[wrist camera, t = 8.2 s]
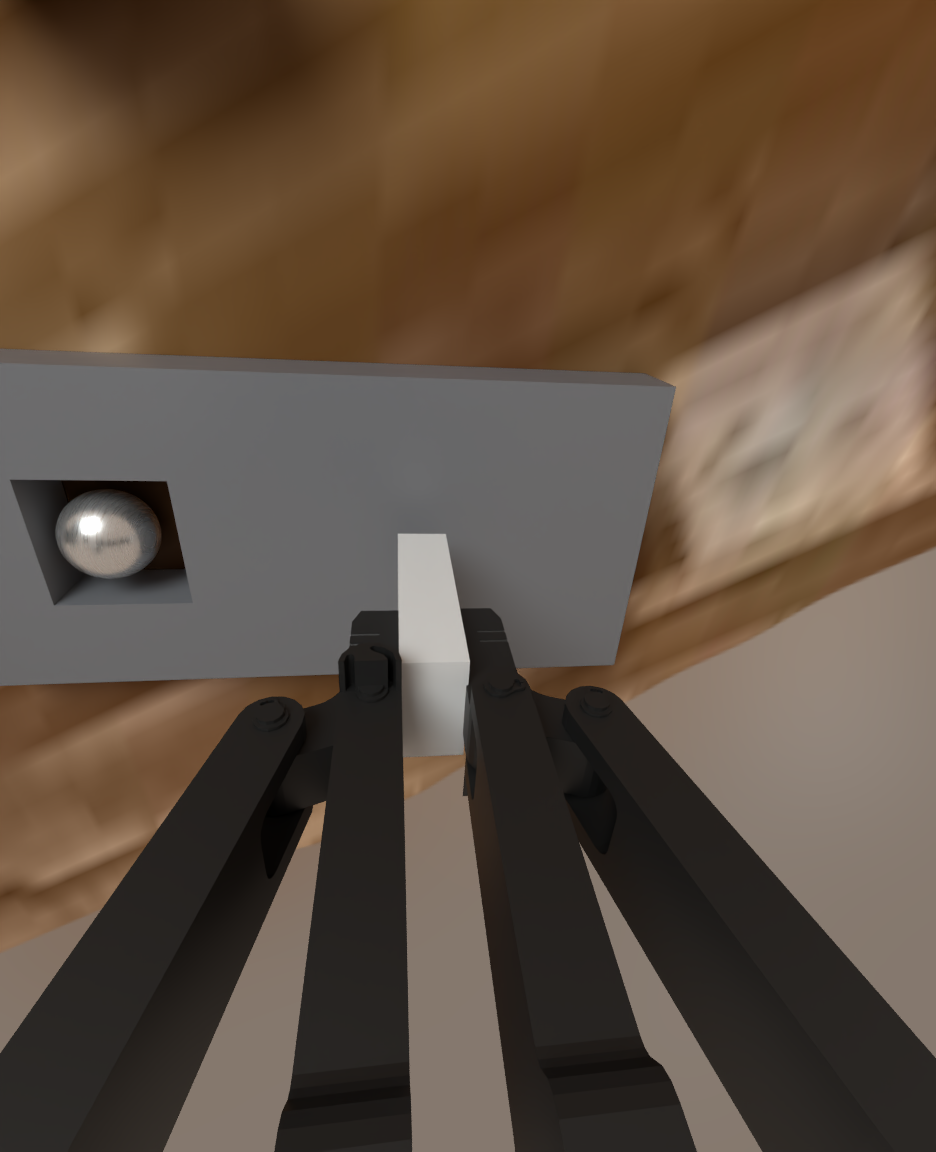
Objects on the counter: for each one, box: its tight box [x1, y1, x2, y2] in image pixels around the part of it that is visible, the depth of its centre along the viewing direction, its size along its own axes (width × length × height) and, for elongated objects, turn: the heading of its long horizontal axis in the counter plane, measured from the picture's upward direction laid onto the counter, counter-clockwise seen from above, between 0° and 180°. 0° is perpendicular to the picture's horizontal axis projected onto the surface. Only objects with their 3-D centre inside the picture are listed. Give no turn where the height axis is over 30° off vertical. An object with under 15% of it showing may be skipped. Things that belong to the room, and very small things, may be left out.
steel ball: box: [55, 489, 161, 579], centre depth 19 cm, size 3×3×3 cm
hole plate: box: [0, 349, 676, 686], centre depth 20 cm, size 24×11×2 cm, turn 87°
